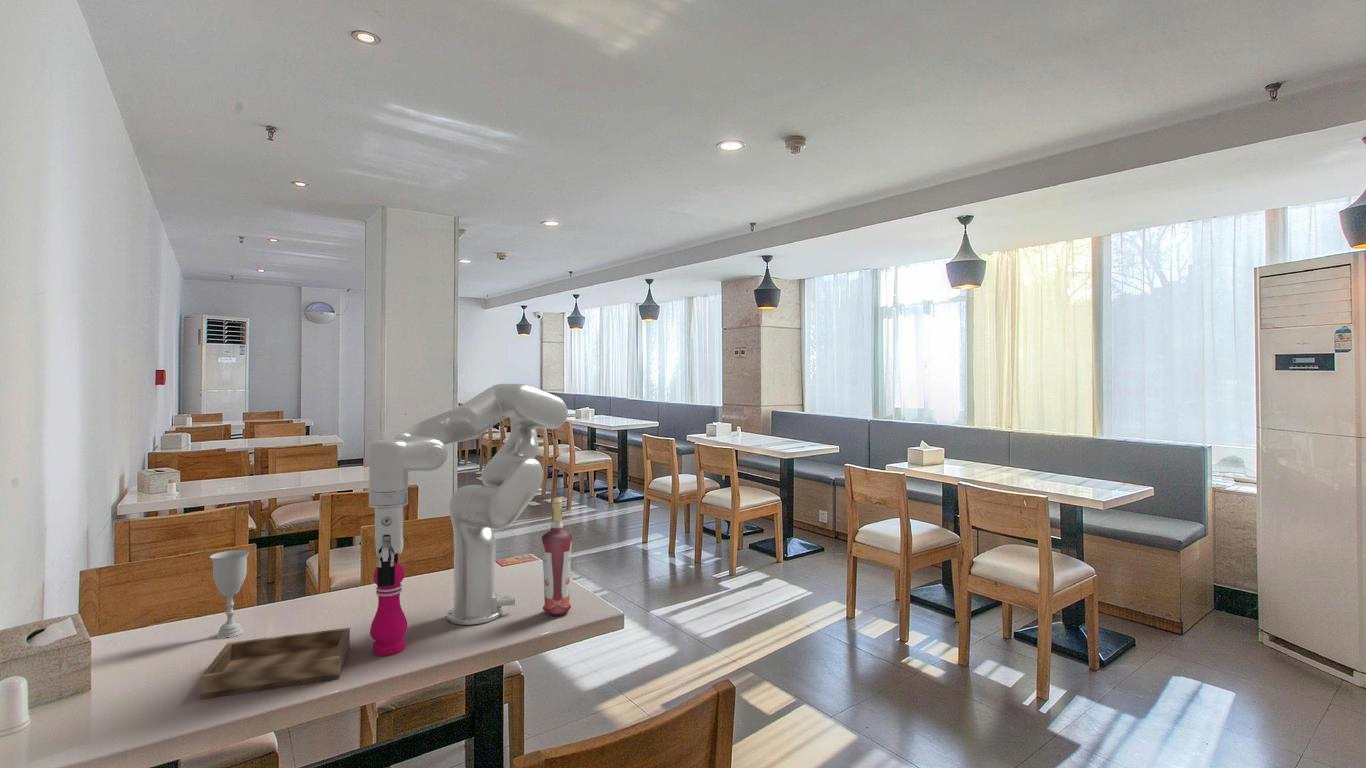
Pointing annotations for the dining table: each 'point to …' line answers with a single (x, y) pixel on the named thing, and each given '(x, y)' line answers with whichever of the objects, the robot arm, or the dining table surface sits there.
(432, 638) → the dining table surface
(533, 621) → the dining table surface
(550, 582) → the liquor
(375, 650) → the pepper mill
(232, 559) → the chalice
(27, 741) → the dining table surface
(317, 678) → the serving tray
